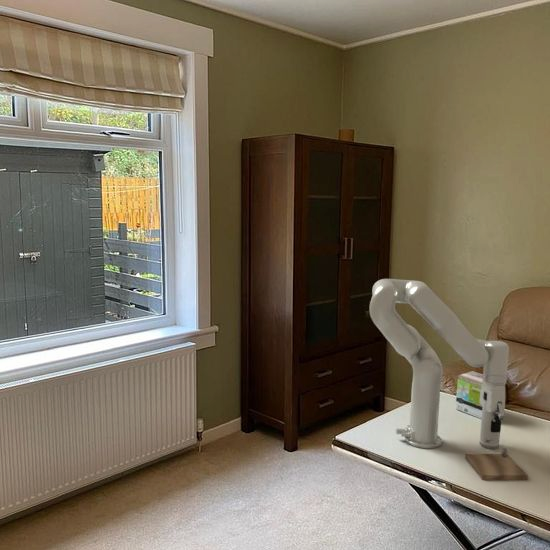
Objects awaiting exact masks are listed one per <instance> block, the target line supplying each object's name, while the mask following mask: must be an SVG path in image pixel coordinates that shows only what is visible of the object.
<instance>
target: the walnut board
mask: <svg viewBox="0 0 550 550" xmlns="http://www.w3.org/2000/svg"><path fill="white" fill-rule="evenodd" d="M464 459H465V460H466V461H467V462H468V464H469V466H471V468H472V469H473V471H474V472H475V473H476V474H477V475H478V476H479V478H480V479H481V480H482V481H490V480H491V481H501V480H502V481H503V480H504V481H506V480H508V481H509V480H510V481H512V480H514V481H517V480H518V481H519V480H522V481H526V480H528V477H529V476H528V474H527V472H526V471H524V469H523V468H522V467H521V466H520V465H519V464H518V463H516V461H515V460H514V459H513V458H512V457H511V456H510V455H509V454H508V448H507V447H503V448H502V451H501V453H465V455H464Z"/></svg>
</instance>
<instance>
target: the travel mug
mask: <svg viewBox="0 0 550 550" xmlns="http://www.w3.org/2000/svg"><path fill="white" fill-rule="evenodd" d="M486 405H487V393H486V392H484V398H483V408H482V419H481V421H480V422H481V423H480V434H479V437H480V438H479V445H480V446H481V447H482V448H484V449H487V450H497V449H499V447H500V437H501V431H500V432H491V421H493V419H492V413H489V412H488V411H487V410H486ZM495 412H498V410H496V411H495ZM496 416H498V414H495V417H496Z"/></svg>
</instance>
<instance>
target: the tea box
mask: <svg viewBox="0 0 550 550" xmlns="http://www.w3.org/2000/svg"><path fill="white" fill-rule="evenodd" d="M482 381H483V373H479V372H476V371H473V370H471V371H468V372H466V373H465V372H464V373H462V374H459V375H457V384H456V395H455V397H456V399H455V401H456V402H455V410H457V411H460V412H463V413H466V414H468V415H471V416H474V417H475V418H478V419H481V420H482V408H483V406H482V405H481V404H480V392H481V385H482Z"/></svg>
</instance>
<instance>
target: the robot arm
mask: <svg viewBox="0 0 550 550" xmlns="http://www.w3.org/2000/svg"><path fill="white" fill-rule="evenodd" d="M371 290H372V293H371V294H372V296H371V300H370V301H369V315H370V318H371V321H372V322H373V324H374V325H375V327H376V328H377V329H378V330H379V332H381V334H382V335H383V337H384V338H385V339H386V340H387V341H388V342H389V343H390V345H391V346H392V347H393V349H394V350H395V351H396V353H398V355H400V356H402V357H404V358H405V359H406V360H407V361H408V363H409V364H410V365H411V368H412V382H411V392H410V393H411V395H410V396H411V399H410V413H409V414H410V416H409V424H407V426H406V427H405V428H395V434H396V435H401V436H400V437H404V440H405V442H406V443H408V444H409V445H411V446H413V447H417V448H421V449H434V448H438V447H440V446H441V445H442V443H443V441H442V438H441V436H440V435H438V434H439V433H438V431H439V429H438V428H439V415H440V401H441V400H440V399H441V398H440V397H441V388H442V387H441V384H442V379H443V371H444V370H443V365H442V362H441V359H440V358H439V356H438V355H437V353H436V351H435V350H434V349H433V348H432V346H431V345H430V344H429V343H428V341H427V340H426V339H425V338H424V337H423V336H422V335H421V334H420V332H418V330H417V329H416V328H415V327H414V326H412V325H411V324H407V323H406V321H404V320H403V319H404V318H402V317H401V315H400V314H399V313H398V312H397V310H396V307H395V306H396V303H397V304H409V305H410V306H411V308H413V309H414V311H416V312H417V314H418V315H420V316H421V318H423V319H424V321H426V323H428V325H429V326H430V327H431V328H432V329H433V330H434V331H435V332H436V333H437V334H438V335H439V336H440V337H441V338H442V339H443V340H445V342H447V344H448V345H449V346H450V347H451V348H452V349H453V350H454V351H455V352H456V353H457V354H458V355H459V356H460V357H461V358H462V359H463V360H464V361H465V363H467V365H469V366H470V367H473V368H482V367H483V371H482V374H483V381H482V385H481V392H480V404H481V405H482V406H483V398H484V392H486V393H487V405H486V410H487V411H488V412H489V413H492V419H493V421H491V432H500V433H501V429H502V422H503V418H504V417H505V413H504V412H505V408H506V385H507V380H508V366H509V365H508V364H509V353H510V347H509V345H508V343H507V342H504V341H501V340H484V339H479V338H476V337H474V335H473V334H472V333H471V332H470V331H469V330H468V329H467V328H466V327H465V326H464V324H463V323H462V322H461V320H460V318H458V316H457V315H456V313H454V312H453V311H452V310H451V309H450V307H448V306H447V304H445V303H444V301H442V300H441V299H440V298H439V297H438V296H437V294H436V293H434V292H433V290H431V288H430V287H429V286H428V285H427V284H426V283H424V282H423V281H420V280H410V279H409V280H408V279H395V278H382V279H379V280H377V281H376V282H375V283H374V284H373V286H372V289H371ZM496 410H498V412H495V411H496ZM495 414H498V416H496V417H495Z"/></svg>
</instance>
